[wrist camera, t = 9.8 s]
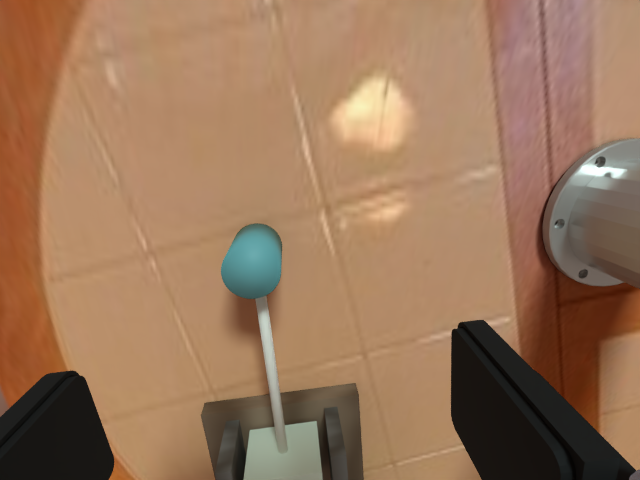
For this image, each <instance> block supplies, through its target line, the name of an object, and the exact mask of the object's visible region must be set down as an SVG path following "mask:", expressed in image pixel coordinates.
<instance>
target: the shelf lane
mask: <svg viewBox="0 0 640 480" xmlns="http://www.w3.org/2000/svg"><path fill="white" fill-rule="evenodd" d="M280 396H281V403H282V410H283V417H284V424H285V425H291V424H298V423H305V422H313V421H317V429H318V439H319V448H320V458H321V467H322V477H323V480H364V478H363V461H362V444H361V427H360V410H359V394H358V391H357V387H356V383H354V384H346V385H338V386H331V387H323V388H315V389H308V390H300V391H292V392H285V393H280ZM201 418H202V422H203V427H204V431H205V435H206V440H207V444H208V449H209V453H210V458H211V462H212V466H213V471H214V475H215V480H244V472H245V464H246V456H247V448H248V440H249V432H250V430H254V429H261V428H269V427H275V426H274V419H273V412H272V406H271V399H270V395H262V396H254V397H247V398H239V399H231V400H224V401H216V402H209V403H205V404H204V407H203V411H202V414H201Z"/></svg>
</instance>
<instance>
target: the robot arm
mask: <svg viewBox="0 0 640 480" xmlns="http://www.w3.org/2000/svg"><path fill="white" fill-rule="evenodd" d="M543 241H544V245H545V249H546V252H547V254H548V256H549V258H550V260H551V262H552V263H553V264H554V265H555V267H556V268H557V269H558V270H559V271H561V272H562V273H563V274H565V275H566V276H567V277H569V278H571V279H573V280H575V281H577V282H580V283H583V284H587V285H590V286H612V285H617V284H621V283H624V282H625V283H627V284H629V285H632V286H634V287H636V288H639V289H640V138H630V139H619V140H616V141H612V142H609V143H606V144H603V145H601V146H599V147H597V148H595V149H593V150H591V151H590V152H588V153H587V154H586V155H584V156H583V157H581V158H580V159H579V160H577V161H576V162H575V163H574V164H573V165H572V166H571V167H570V168H569V169H568V170H567V171H566V173H565V174H564V175H563V177H562V178H561V179H560V181H559V182H558V183H557V185H556V187H555V188H554V190H553V192H552V194H551V196H550V198H549V201H548V204H547V207H546V210H545V213H544V220H543ZM451 417H452V421H453V425H454V427H455V430H456V432H457V434H458V435H459V437H460V439H461V441H462V443H463V445H464V447H465V449H466V451H467V452H468V454H469V456H470V458H471V460H472V462H473V464H474V466H475V468H476V469H477V471H478V473H479V475H480V477H481V479H482V480H640V470H637V471H636V470H635V469H634V468H633V467H632V466H631V465H630V464H629V463H628V462H627V461H626V460H625V459H624V458H623V457H622V456H621V455H620V454H619V453H618V452H617V451H616V450H615V449H614V448H613V447H612V446H611V445H610V444H609V443H608V442H607V441H606V440H605V439H604V438H603V437H602V436H601V435H600V434H599V433H598V432H597V431H596V430H595V429H594V428H593V427H592V426H591V425H590V424H589V423H588V422H587V421H586V420H585V419H584V418H583V417H582V416H581V415H580V414H579V413H578V412H577V411H576V410H575V409H574V408H573V407H572V406H571V405H570V404H569V403H568V402H567V401H566V400H565V399H564V398H563V397H562V396H561V395H560V394H559V393H558V392H557V391H556V390H555V389H554V388H553V387H552V386H551V385H550V384H549V383H548V382H547V381H546V380H545V379H544V378H543V377H542V376H541V375H540V374H539V373H537V372H536V371H535V370H533V369H532V368H531V367H530V366H529V365H528V364H527V363H526V362H525V361H524V360H523V359H522V358H521V357H520V356H519V355H518V354H517V353H516V352H515V351H514V350H513V349H512V348H511V347H510V346H509V345H508V344H507V343H506V342H505V341H504V340H503V339H502V338H501V337H500V336H499V335H498V334H497V333H496V332H495V331H494V330H493V329H492V328H491V327H490V326H489V325H488V324H487V323H486V322H485V321H484V320H476V321H468V322H460V323H459V325H458V329H453V330H452V347H451ZM113 468H114V457H113V454H112V451H111V448H110V445H109V443H108V440H107V437H106V434H105V432H104V429H103V426H102V423H101V420H100V418H99V415H98V412H97V409H96V407H95V404H94V401H93V398H92V396H91V393H90V390H89V387H88V385H87V382H86V380H85V378H84V377H83V376H79V374H78V373H77V372H76V371H65V372H57V373H50V374H46V375H45V376H43V377H42V378H41V379H40V380H39V381H38V382H37V383H36V384H35V385H34V386H33V387H32V388H31V389H29V390H28V391H27V392H26V393H25V394H24V395H23V396H22V397H21V398H20V399H19V400H18V401H17V402H16V403H15V404H14V405H13V406H12V407H10V408H9V409H8V410H7V411H6V412H5V413H4V414H3V415H2V416H1V417H0V480H109V478H110V476H111V474H112V471H113Z"/></svg>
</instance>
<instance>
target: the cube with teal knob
mask: <svg viewBox="0 0 640 480" xmlns="http://www.w3.org/2000/svg"><path fill="white" fill-rule="evenodd" d="M281 259H282V242H281V239H280V237H279V235H278V234H277V232H276V231H275V230H274V229H272V228H271V227H269V226H267V225H264V224H250V225H247V226H245V227H244V228H242V229H241V230H240V231H239V232H238V233H237V235H236V236H235V238H234V240H233V242H232V244H231V246H230V248H229V250H228V252H227V254H226V256H225V258H224V260H223V263H222V267H221V275H222V279H223V282H224V283H225V285H226V287H227V288H228V289H229V290H230V291H231V292H232V293H234V294H236V295H237V296H240V297H243V298H247V299H255V300H256V306H257V313H258V320H259V326H260V333H261V339H262V346H263V353H264V359H265V366H266V373H267V379H268V386H269V393H270V399H271V406H272V412H273V419H274V426H275V427H269V428H261V429H254V430H250V432H249V440H248V448H247V456H246V464H245V472H244V480H323V477H322V467H321V458H320V448H319V439H318V429H317V421H313V422H305V423H298V424H291V425H285V424H284V417H283V410H282V403H281V396H280V389H279V381H278V374H277V367H276V360H275V353H274V346H273V339H272V331H271V324H270V317H269V310H268V303H267V296H266V295H268V294H269V293H270V292H272V291H273V290H274V289H275V287H276V286H277V284H278V283H279V280H280V276H281Z"/></svg>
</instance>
